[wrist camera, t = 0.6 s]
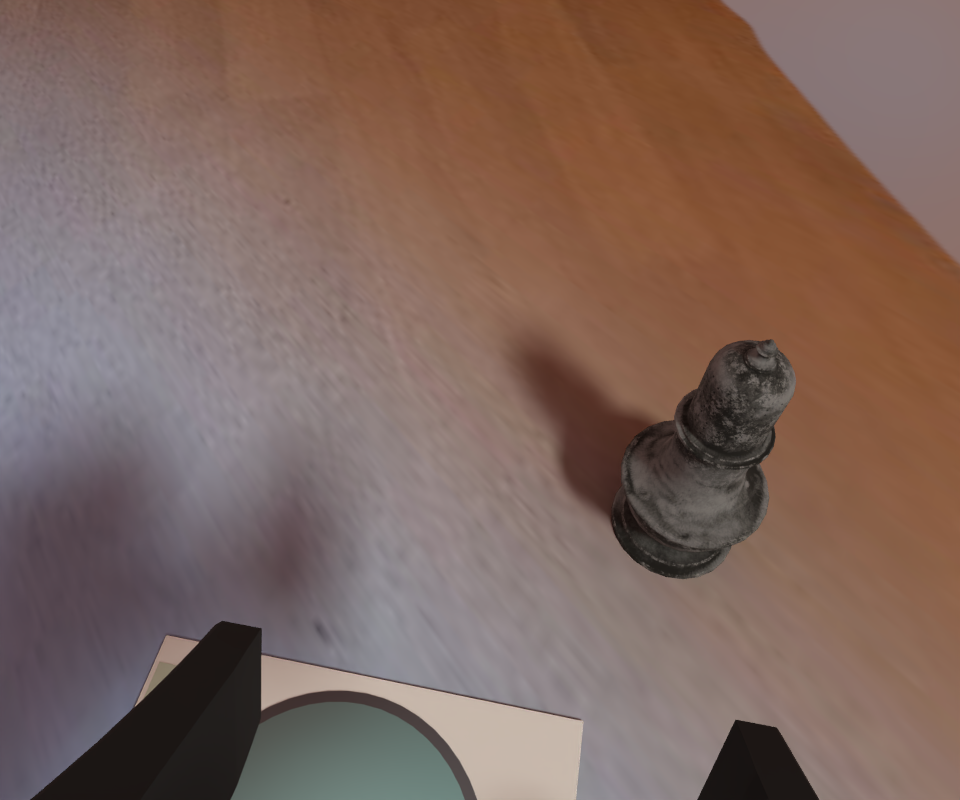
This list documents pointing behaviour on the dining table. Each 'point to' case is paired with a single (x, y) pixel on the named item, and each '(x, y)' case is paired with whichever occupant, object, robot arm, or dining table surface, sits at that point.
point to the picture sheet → (391, 740)
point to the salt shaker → (704, 465)
